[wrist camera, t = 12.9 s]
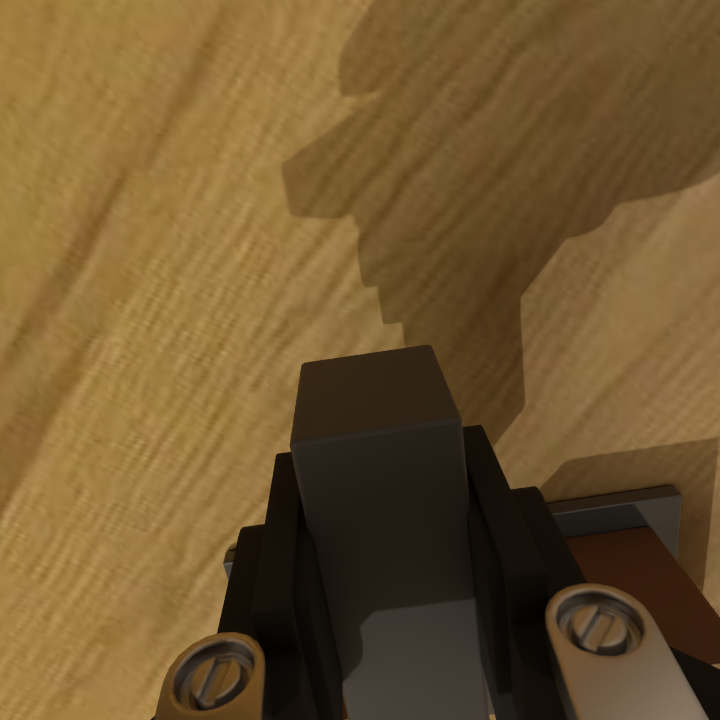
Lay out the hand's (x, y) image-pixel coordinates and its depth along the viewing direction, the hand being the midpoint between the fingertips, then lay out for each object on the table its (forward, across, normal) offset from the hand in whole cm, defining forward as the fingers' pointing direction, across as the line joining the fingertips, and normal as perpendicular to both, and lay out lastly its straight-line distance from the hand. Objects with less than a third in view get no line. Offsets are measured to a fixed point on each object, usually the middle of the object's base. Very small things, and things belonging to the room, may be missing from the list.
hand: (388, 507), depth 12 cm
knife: (0, 0, +6) cm, 6 cm away
